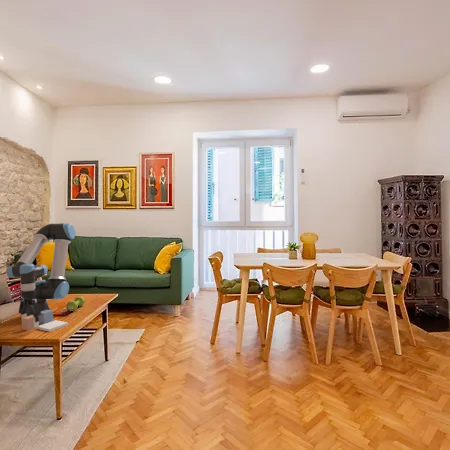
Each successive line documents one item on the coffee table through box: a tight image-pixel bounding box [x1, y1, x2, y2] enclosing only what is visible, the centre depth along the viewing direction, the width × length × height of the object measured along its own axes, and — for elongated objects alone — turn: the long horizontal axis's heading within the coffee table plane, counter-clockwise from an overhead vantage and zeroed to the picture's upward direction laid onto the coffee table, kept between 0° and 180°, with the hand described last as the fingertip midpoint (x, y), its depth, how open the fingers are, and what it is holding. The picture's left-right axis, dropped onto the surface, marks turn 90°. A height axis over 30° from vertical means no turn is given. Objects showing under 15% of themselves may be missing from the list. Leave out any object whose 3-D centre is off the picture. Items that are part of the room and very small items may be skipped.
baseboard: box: [36, 319, 69, 333], centre depth 192 cm, size 12×12×2 cm
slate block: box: [39, 309, 54, 325], centre depth 201 cm, size 6×6×7 cm
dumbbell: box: [65, 296, 86, 313], centre depth 230 cm, size 16×8×7 cm, turn 2°
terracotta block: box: [21, 315, 37, 332], centre depth 191 cm, size 6×6×7 cm
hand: (30, 325), depth 190 cm, fingers open, 11 cm apart
